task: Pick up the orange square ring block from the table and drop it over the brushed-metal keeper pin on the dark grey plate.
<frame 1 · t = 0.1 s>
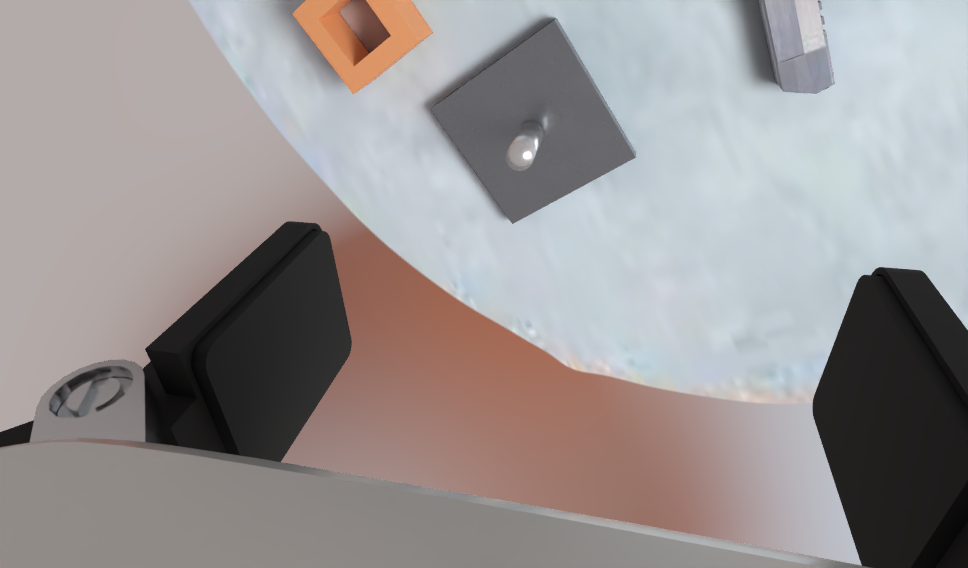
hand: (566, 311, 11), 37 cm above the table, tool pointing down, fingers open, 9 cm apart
orange square ring block: (372, 19, 45), on the table
keeper: (533, 128, 47), on the table
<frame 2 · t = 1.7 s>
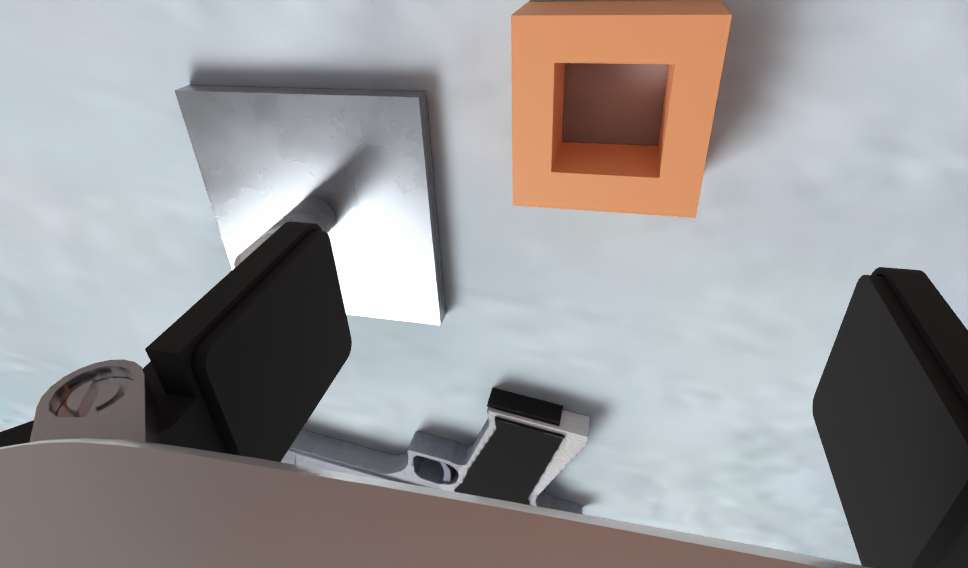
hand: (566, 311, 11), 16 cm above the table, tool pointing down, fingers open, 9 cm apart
handgun: (424, 430, 38), on the table
orange square ring block: (613, 95, 23), on the table
keeper: (325, 207, 30), on the table
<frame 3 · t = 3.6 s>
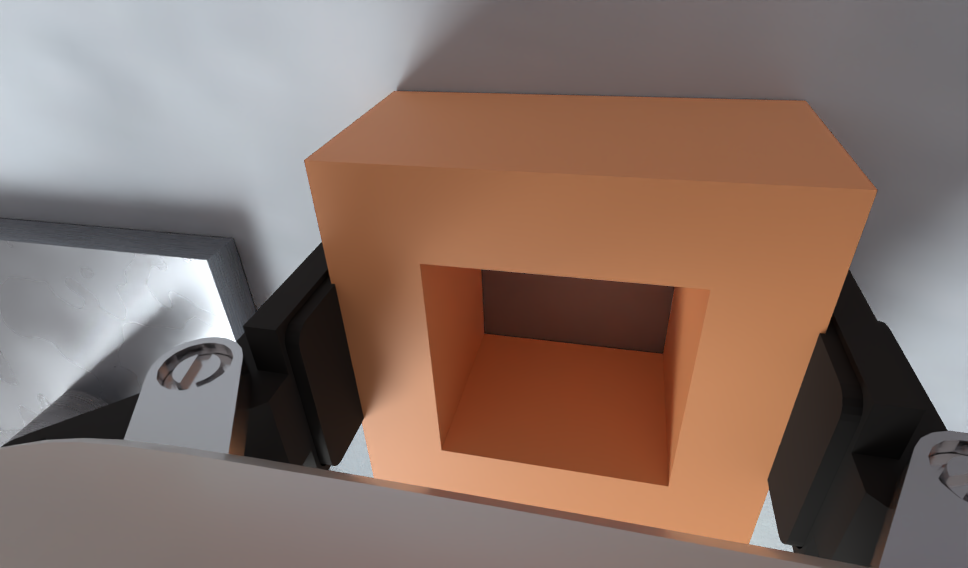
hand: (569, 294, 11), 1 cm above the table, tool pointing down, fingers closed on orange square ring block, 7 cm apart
orange square ring block: (575, 267, 12), on the table, touching gripper
keeper: (117, 391, 18), on the table
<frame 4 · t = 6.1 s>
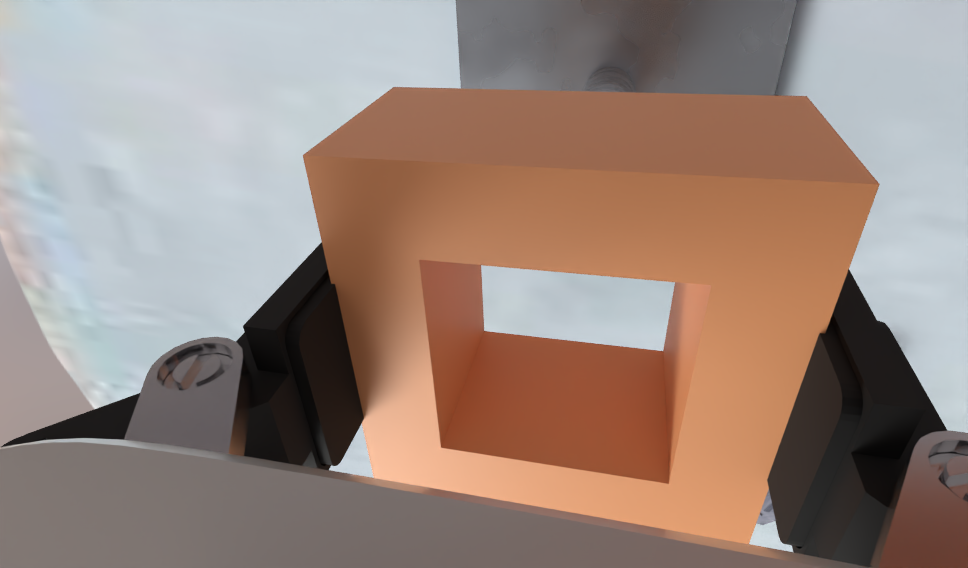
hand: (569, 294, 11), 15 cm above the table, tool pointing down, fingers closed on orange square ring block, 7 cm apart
handgun: (633, 392, 33), on the table
orange square ring block: (575, 264, 12), point 14 cm above the table, touching gripper
keeper: (610, 87, 23), on the table
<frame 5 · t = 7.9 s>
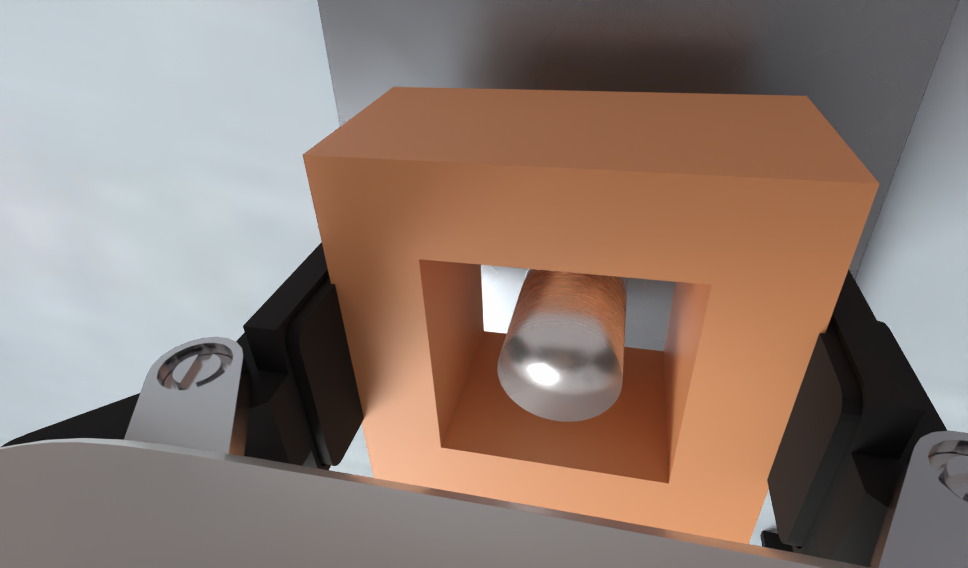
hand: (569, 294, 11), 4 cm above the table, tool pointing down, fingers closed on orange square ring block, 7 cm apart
orange square ring block: (575, 264, 12), point 3 cm above the table, touching gripper
keeper: (590, 203, 14), on the table
when the fingers open (3 cm above the table, at t = 9.1 s): orange square ring block drops 1 cm, resting on keeper.
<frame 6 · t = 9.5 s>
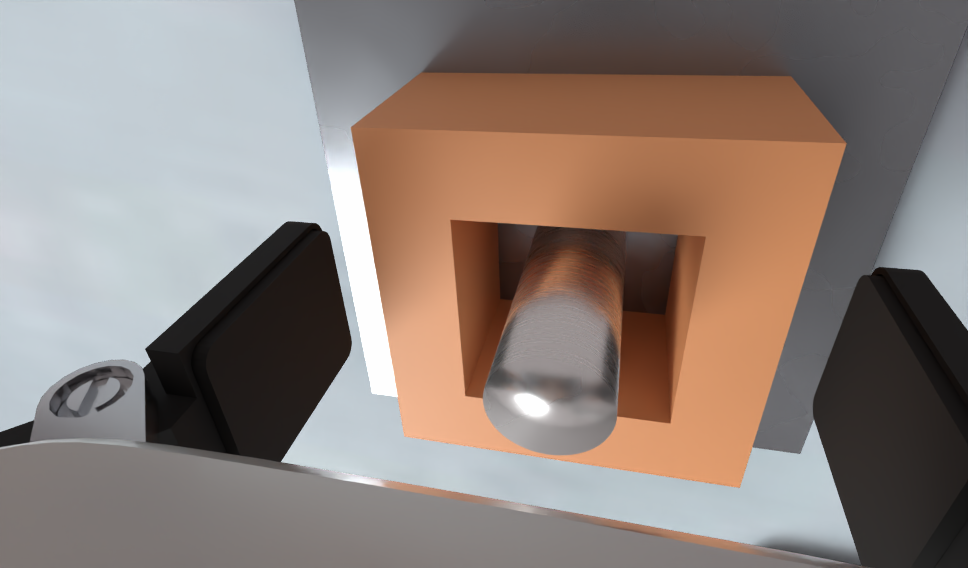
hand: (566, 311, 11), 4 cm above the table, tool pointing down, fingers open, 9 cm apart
orange square ring block: (584, 234, 13), point 1 cm above the table, touching keeper
keeper: (584, 214, 14), on the table
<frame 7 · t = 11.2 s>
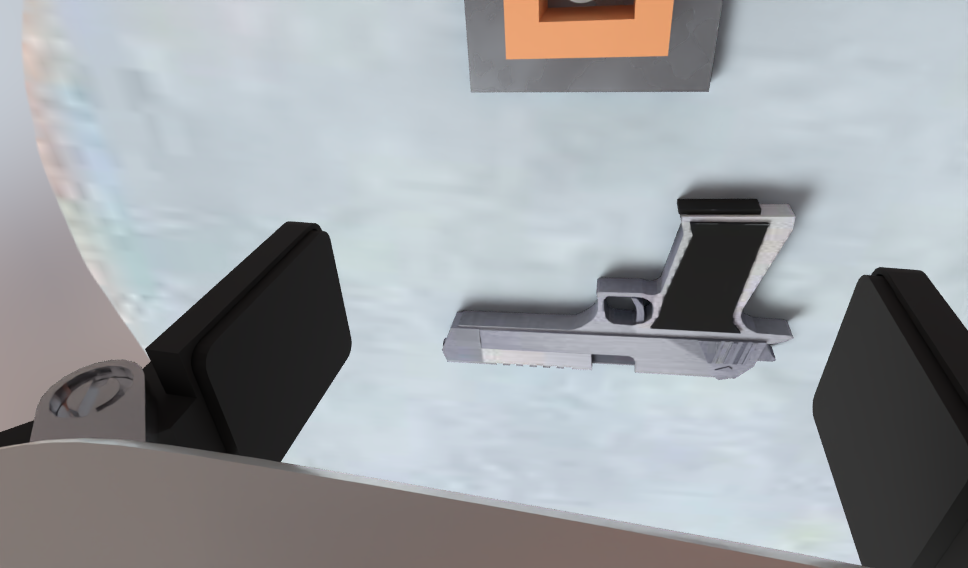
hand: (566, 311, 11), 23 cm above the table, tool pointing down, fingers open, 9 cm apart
handgun: (604, 278, 38), on the table
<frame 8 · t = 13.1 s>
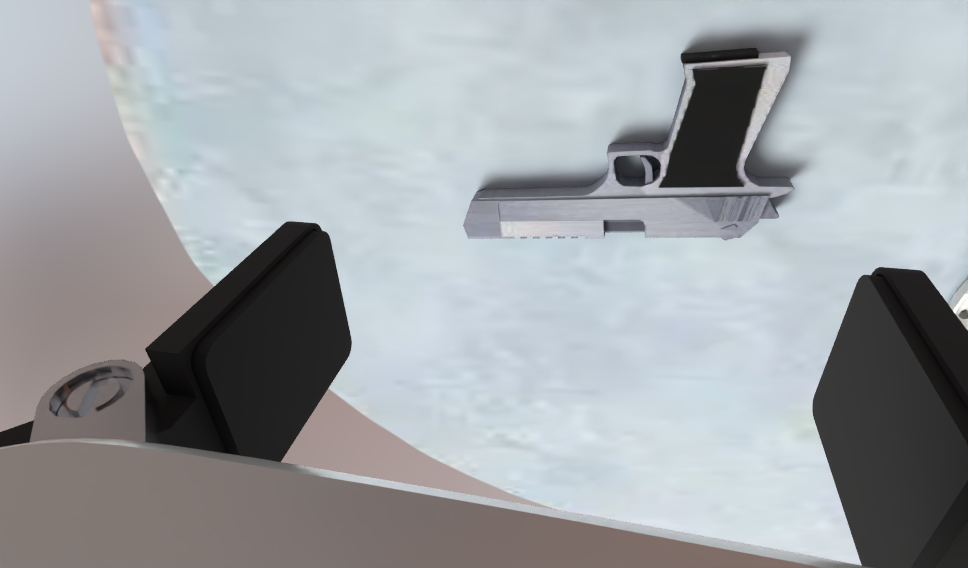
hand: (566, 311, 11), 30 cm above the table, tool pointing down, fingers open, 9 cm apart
handgun: (615, 147, 40), on the table
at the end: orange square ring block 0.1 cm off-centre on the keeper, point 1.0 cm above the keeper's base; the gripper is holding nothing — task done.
